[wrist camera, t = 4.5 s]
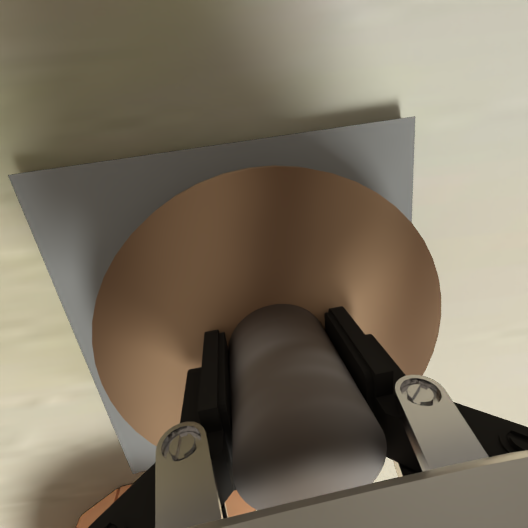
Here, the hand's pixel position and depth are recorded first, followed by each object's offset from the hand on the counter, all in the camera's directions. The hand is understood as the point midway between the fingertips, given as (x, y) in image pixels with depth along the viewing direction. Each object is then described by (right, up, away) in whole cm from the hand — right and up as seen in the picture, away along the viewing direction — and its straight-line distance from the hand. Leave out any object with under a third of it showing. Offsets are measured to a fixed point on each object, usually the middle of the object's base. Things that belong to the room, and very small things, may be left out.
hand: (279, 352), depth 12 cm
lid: (0, 0, +1) cm, 1 cm away
